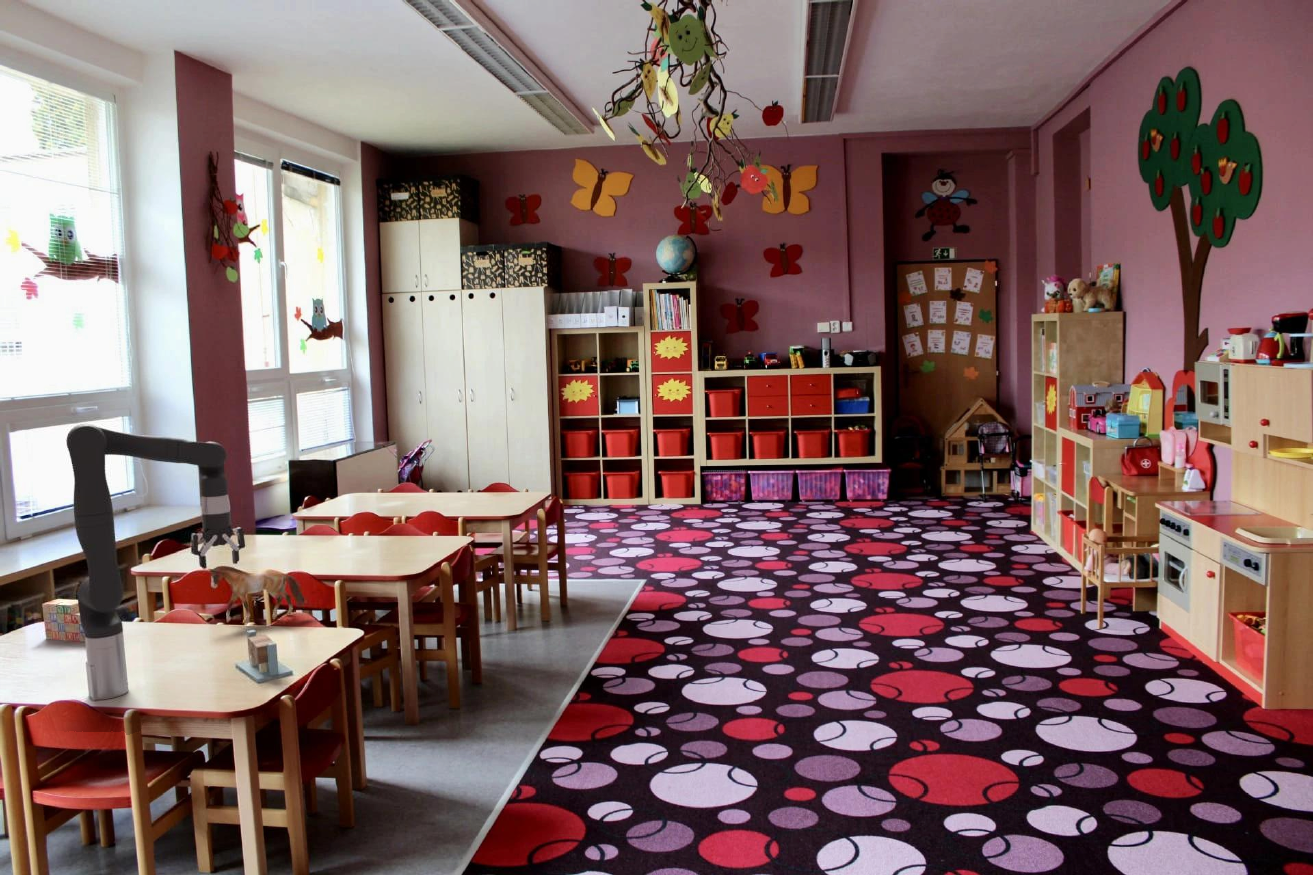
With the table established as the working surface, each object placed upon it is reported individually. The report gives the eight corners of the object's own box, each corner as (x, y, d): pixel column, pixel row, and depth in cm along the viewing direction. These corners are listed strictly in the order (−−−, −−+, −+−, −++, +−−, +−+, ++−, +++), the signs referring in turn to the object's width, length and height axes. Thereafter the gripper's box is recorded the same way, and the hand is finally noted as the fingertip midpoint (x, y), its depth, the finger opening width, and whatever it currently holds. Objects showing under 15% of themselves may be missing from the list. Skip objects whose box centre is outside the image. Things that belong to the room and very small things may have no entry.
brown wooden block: (249, 653, 290) (247, 637, 289) (266, 650, 293) (265, 634, 292) (258, 664, 280) (257, 647, 280) (276, 660, 283) (275, 643, 282)
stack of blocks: (110, 637, 325) (107, 601, 324) (94, 643, 319) (91, 606, 318) (61, 633, 332) (58, 598, 330) (45, 639, 326) (41, 603, 324)
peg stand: (257, 682, 277) (254, 648, 275) (235, 666, 291) (233, 634, 290) (292, 673, 283) (290, 640, 282) (269, 658, 297) (267, 626, 296)
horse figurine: (211, 627, 332) (206, 568, 330) (216, 621, 340) (211, 563, 338) (307, 618, 340) (303, 560, 338) (310, 612, 347) (306, 555, 345)
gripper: (237, 506, 289) (240, 559, 291) (185, 512, 280) (189, 567, 282) (245, 509, 284) (249, 563, 285) (193, 515, 274) (197, 572, 276)
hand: (219, 565), depth 284 cm, fingers open, 8 cm apart
